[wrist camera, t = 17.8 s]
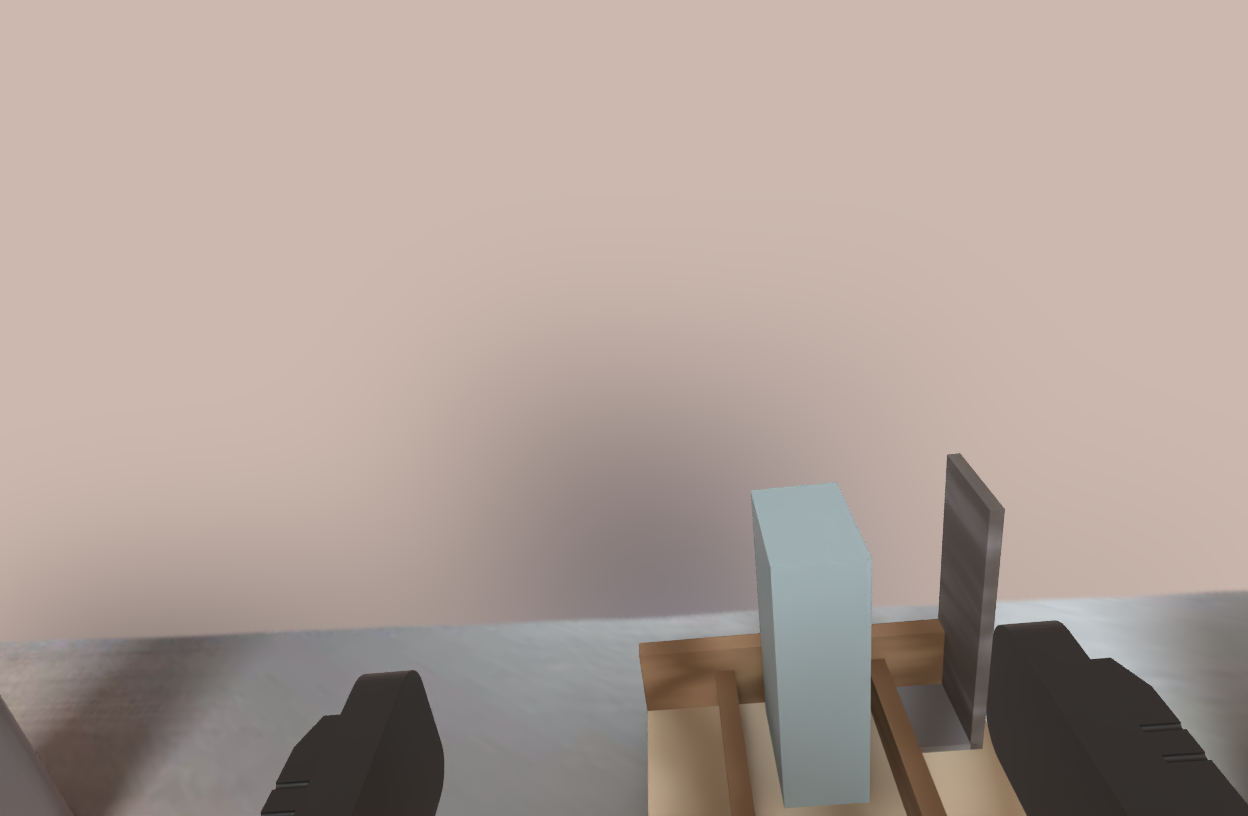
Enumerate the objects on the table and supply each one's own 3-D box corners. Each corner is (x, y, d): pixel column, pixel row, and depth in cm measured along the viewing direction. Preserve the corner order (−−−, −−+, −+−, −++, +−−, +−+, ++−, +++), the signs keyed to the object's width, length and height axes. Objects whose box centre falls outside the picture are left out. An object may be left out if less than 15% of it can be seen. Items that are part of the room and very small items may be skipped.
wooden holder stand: (652, 1035, 29) (597, 754, 23) (649, 713, 44) (615, 487, 38) (1122, 1015, 28) (1197, 711, 22) (959, 690, 43) (977, 451, 36)
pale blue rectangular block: (784, 808, 36) (770, 567, 30) (765, 710, 42) (750, 490, 36) (869, 802, 36) (871, 558, 30) (839, 704, 41) (836, 482, 36)
